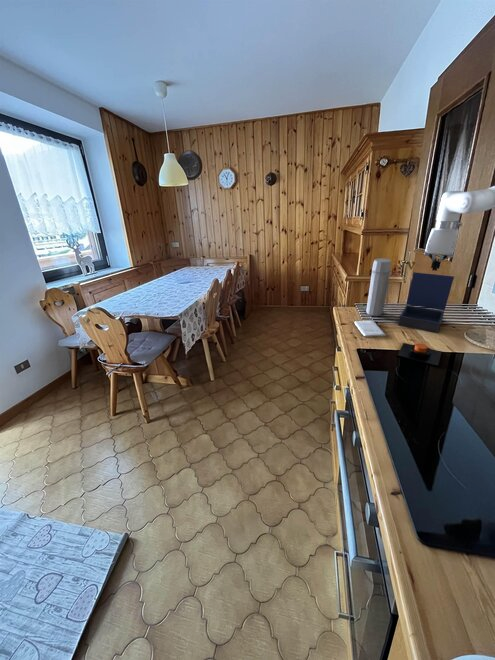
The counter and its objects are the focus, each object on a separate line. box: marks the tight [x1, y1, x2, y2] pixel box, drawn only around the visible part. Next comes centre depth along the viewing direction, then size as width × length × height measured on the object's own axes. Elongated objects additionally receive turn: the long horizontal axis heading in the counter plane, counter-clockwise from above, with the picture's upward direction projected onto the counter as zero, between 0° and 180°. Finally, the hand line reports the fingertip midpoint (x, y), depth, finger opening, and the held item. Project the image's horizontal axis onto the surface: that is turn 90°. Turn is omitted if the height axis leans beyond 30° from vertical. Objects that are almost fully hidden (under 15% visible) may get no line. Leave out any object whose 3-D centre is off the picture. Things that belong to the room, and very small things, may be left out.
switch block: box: [397, 342, 442, 368], centre depth 98 cm, size 12×10×3 cm
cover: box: [406, 271, 455, 311], centre depth 121 cm, size 14×15×1 cm
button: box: [414, 343, 429, 353], centre depth 97 cm, size 4×4×2 cm
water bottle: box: [365, 258, 393, 317], centre depth 125 cm, size 9×8×25 cm
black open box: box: [397, 304, 445, 334], centre depth 120 cm, size 14×15×4 cm
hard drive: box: [354, 320, 386, 338], centre depth 117 cm, size 2×8×12 cm
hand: (434, 269), depth 122 cm, fingers closed
